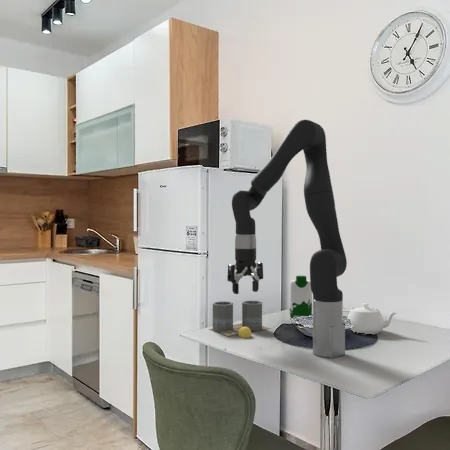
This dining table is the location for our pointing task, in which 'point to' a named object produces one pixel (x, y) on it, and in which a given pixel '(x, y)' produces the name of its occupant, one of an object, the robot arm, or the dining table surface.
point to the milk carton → (300, 297)
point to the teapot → (367, 319)
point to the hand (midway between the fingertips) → (245, 292)
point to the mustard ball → (244, 332)
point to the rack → (225, 317)
